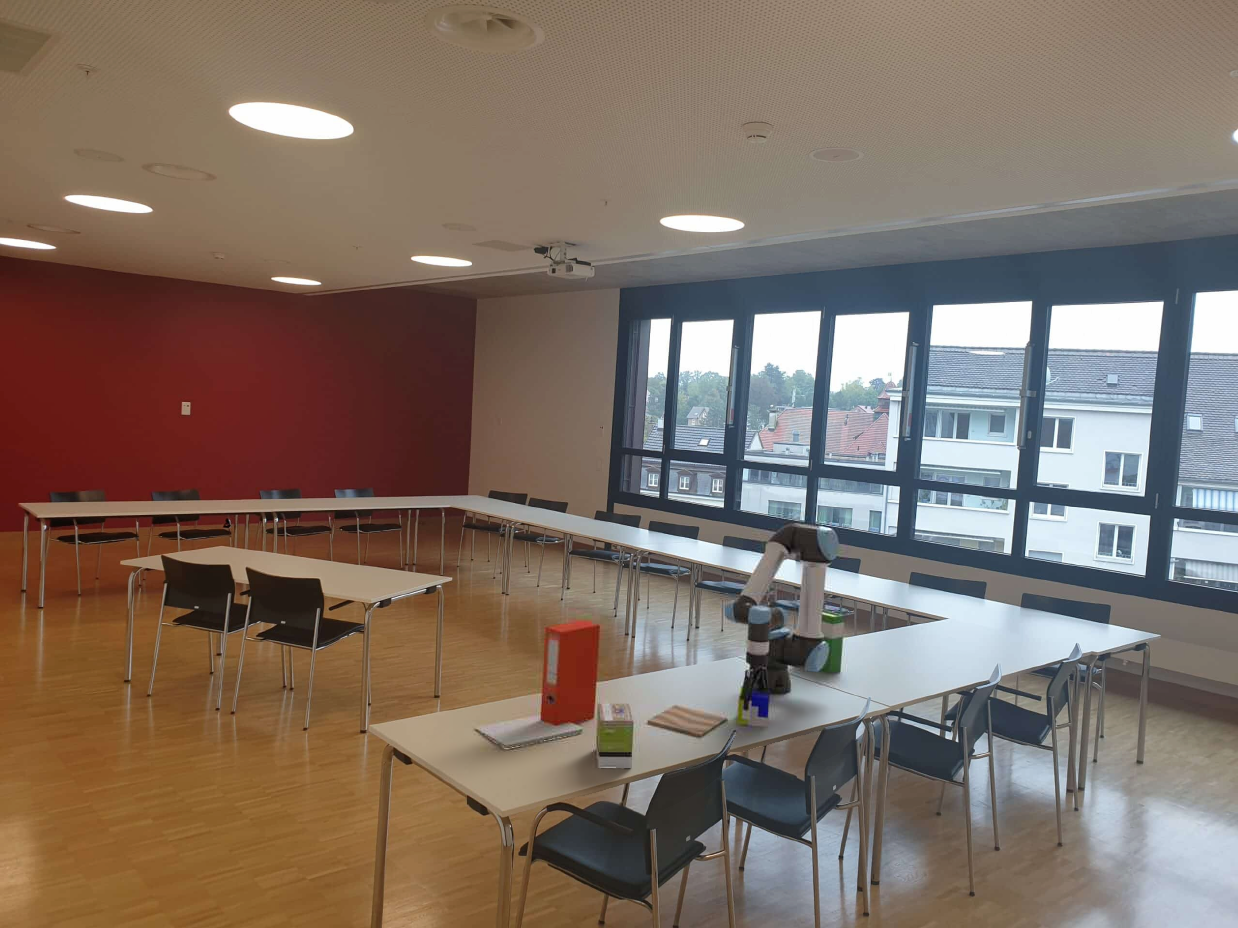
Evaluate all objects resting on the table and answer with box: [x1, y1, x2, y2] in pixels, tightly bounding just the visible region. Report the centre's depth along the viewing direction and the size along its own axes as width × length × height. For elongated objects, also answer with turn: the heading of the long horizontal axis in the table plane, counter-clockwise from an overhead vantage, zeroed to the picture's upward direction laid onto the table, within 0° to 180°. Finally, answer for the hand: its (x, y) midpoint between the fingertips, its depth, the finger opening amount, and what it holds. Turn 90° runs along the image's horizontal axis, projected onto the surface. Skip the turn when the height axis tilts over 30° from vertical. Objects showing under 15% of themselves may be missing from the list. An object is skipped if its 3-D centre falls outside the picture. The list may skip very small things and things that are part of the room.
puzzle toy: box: [736, 685, 771, 728], centre depth 302 cm, size 10×10×10 cm
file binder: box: [540, 619, 601, 726], centre depth 292 cm, size 8×17×32 cm, turn 136°
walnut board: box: [647, 704, 728, 738], centre depth 298 cm, size 20×20×1 cm
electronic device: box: [474, 714, 584, 748], centre depth 281 cm, size 29×20×2 cm
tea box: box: [595, 702, 634, 769], centre depth 262 cm, size 15×10×15 cm, turn 5°
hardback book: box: [818, 609, 845, 675], centre depth 371 cm, size 18×7×24 cm, turn 40°
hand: (753, 713), depth 302 cm, fingers closed on puzzle toy, 12 cm apart
